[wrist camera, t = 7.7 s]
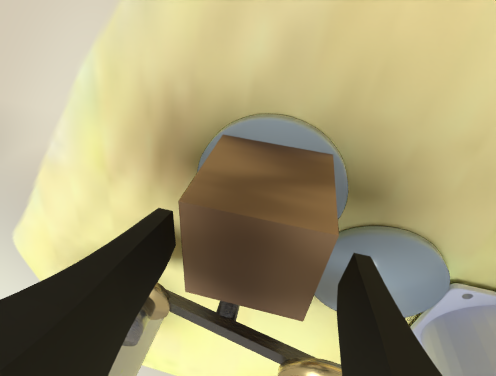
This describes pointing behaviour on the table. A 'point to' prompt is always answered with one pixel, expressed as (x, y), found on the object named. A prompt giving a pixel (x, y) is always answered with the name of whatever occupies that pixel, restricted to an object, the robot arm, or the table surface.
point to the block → (259, 225)
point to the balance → (229, 332)
